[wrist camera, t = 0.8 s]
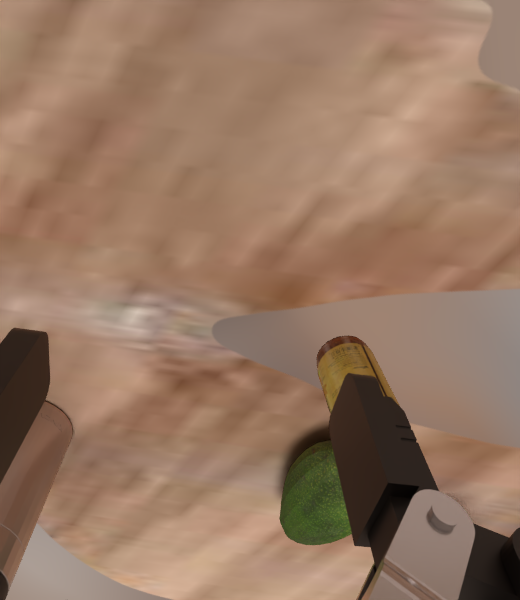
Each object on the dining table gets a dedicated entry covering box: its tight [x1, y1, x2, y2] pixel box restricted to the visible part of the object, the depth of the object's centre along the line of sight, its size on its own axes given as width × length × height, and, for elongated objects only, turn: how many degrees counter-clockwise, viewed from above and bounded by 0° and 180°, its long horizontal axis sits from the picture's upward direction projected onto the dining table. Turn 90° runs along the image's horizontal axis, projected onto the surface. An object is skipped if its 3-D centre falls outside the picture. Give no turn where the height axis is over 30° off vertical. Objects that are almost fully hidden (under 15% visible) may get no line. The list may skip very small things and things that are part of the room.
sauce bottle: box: [317, 336, 399, 413], centre depth 40 cm, size 7×6×20 cm
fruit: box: [280, 440, 352, 545], centre depth 53 cm, size 15×10×10 cm, turn 150°
